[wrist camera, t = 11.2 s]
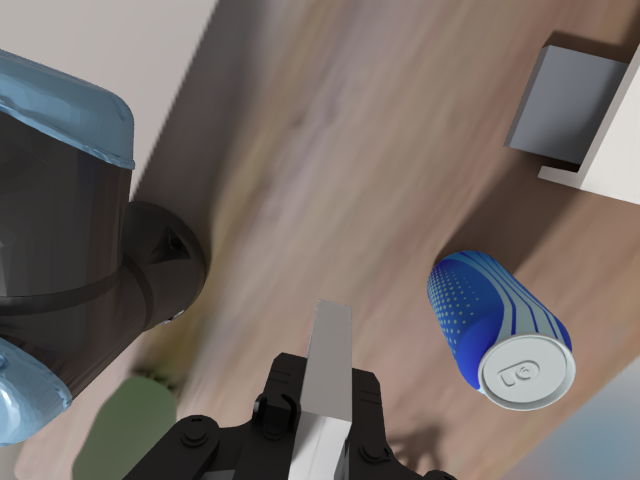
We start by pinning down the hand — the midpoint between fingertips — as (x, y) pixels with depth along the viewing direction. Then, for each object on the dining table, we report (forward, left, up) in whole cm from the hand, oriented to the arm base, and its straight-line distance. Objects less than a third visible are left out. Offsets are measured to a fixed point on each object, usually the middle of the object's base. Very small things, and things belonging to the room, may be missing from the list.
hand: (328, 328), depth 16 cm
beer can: (+15, -5, -24) cm, 29 cm away
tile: (+21, +15, -25) cm, 36 cm away
